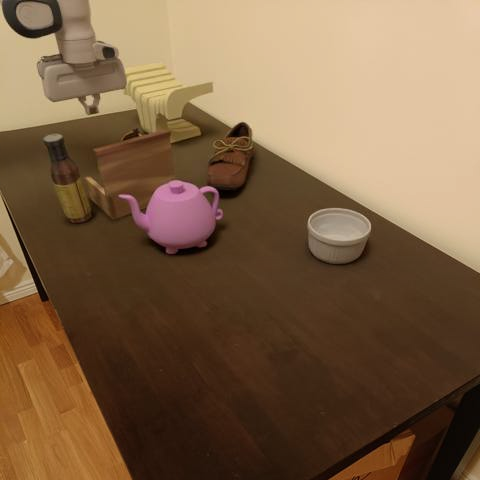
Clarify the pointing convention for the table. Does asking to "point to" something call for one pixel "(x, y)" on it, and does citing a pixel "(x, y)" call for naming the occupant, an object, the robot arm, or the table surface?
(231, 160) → the moccasin
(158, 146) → the wooden holder
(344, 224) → the ramekin
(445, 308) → the table surface
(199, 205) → the teapot
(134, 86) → the slatted curved stool
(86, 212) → the sauce bottle
